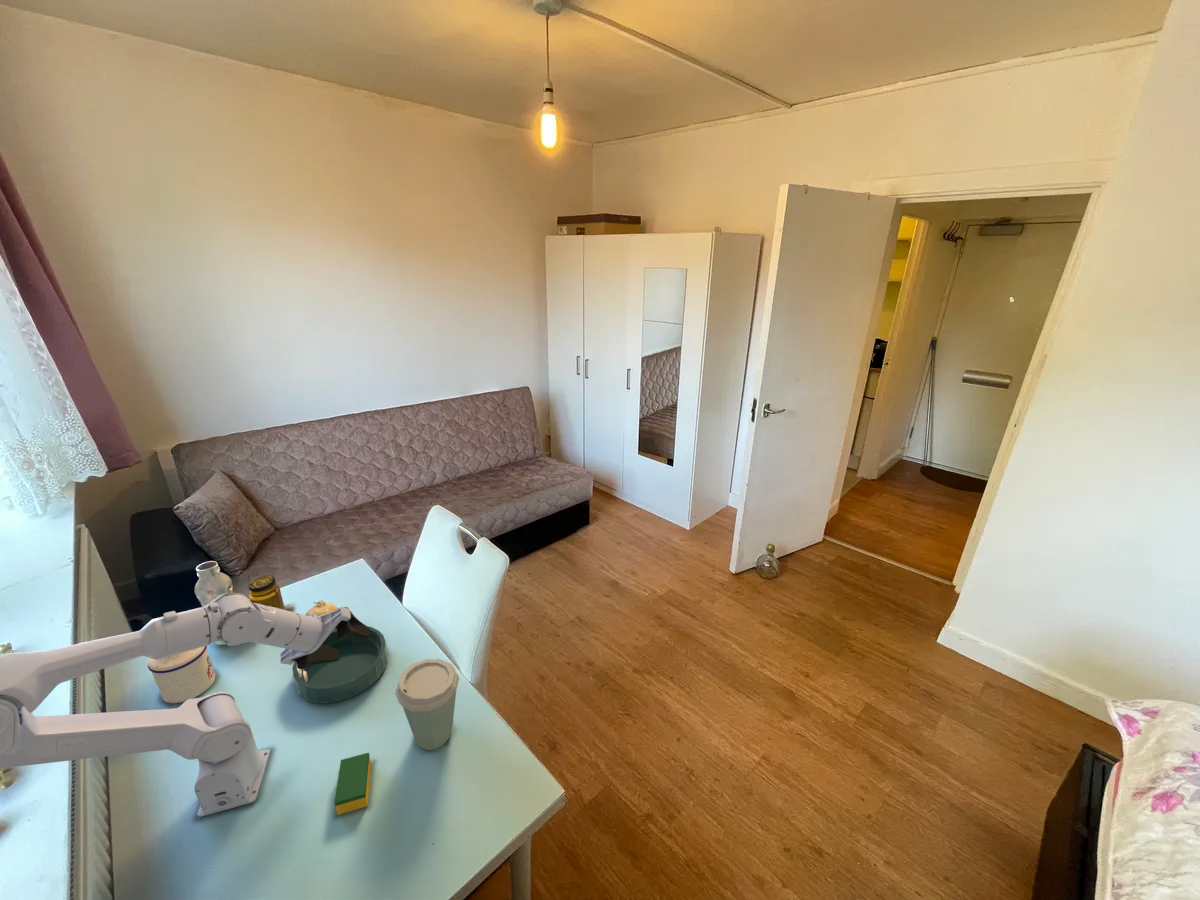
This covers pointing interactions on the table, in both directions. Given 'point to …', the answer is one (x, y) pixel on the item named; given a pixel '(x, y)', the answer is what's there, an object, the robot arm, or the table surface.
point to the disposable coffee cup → (429, 700)
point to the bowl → (343, 669)
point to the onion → (321, 609)
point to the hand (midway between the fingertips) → (353, 644)
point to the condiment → (267, 593)
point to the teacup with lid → (183, 674)
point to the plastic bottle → (211, 584)
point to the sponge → (353, 783)
